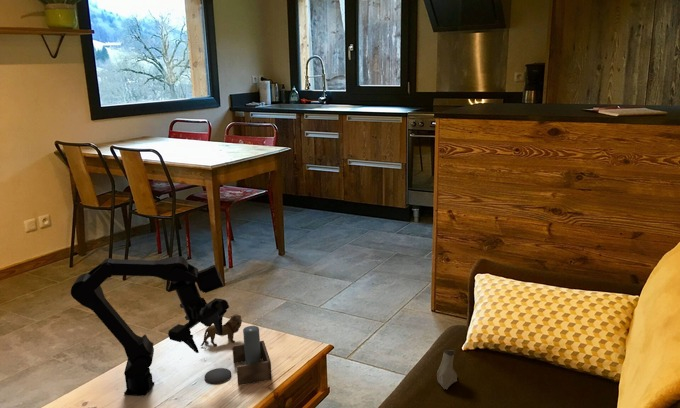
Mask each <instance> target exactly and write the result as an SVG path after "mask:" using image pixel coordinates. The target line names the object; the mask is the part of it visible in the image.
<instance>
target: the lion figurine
mask: <svg viewBox="0 0 680 408" xmlns="http://www.w3.org/2000/svg"><path fill="white" fill-rule="evenodd" d="M242 322H243V321H242V316H241V314H238V313H237V314H233V315H232V316H230V318H229V319H228V320H227V322H226V323H224V324H222V335H219V333H218V332H217V330H216V328H215V326H214V324H212V325H211V326H209V327H206V329H205V332H204V335H203V341H202V343H201V344H200V347H203V346H204V345H205V344H206V345H207V344H209V343H211V345H212V346H213V347H217V346H218V343H215V338H216V335H217V336H221V337H223V336H226V335H227V339H228V341H230V343H232V344H235V343H236V340H234V336H235V335H234V334H235V333H236V334H237V333H238V332H239V330H240V329H241V326H242ZM209 338H210V342H209V341H208V340H209Z"/></svg>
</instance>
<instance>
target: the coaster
mask: <svg viewBox="0 0 680 408" xmlns="http://www.w3.org/2000/svg"><path fill="white" fill-rule="evenodd" d="M231 378H232V371H231V370H230V369H228V368H227V367H226V368H224V367H218V368H213V369H211V370H210V369H209V370H208V371H207V372H206V373H205V375H204V380H205V382H206V383H208V384H211V385H219V384H223V383H226V382H228V381H229V380H230V379H231Z"/></svg>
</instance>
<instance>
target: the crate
mask: <svg viewBox="0 0 680 408" xmlns="http://www.w3.org/2000/svg"><path fill="white" fill-rule="evenodd" d="M231 347H232V359H233V364H238V363H239V364H240V363H245V350H244V343H239V344H232V346H231ZM260 352H261V360H262V361H261V362H259V363H252V364H242V365H236V376H237V377H236V378H237V386H239V387H240V386H244V385H249V384H256V383H261V382H268V381H272V380H273V377H272V364H271V363H272V362H271V358H270V354H269V353H268V350H267V346H266V343H265V341H264V340H260Z"/></svg>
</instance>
